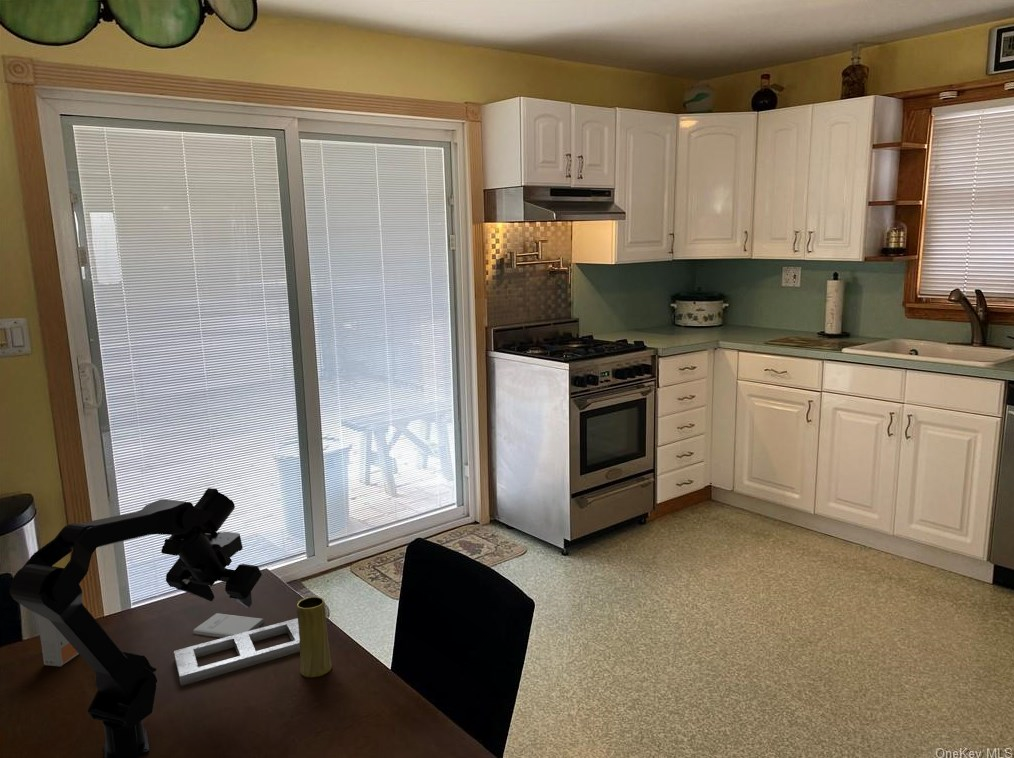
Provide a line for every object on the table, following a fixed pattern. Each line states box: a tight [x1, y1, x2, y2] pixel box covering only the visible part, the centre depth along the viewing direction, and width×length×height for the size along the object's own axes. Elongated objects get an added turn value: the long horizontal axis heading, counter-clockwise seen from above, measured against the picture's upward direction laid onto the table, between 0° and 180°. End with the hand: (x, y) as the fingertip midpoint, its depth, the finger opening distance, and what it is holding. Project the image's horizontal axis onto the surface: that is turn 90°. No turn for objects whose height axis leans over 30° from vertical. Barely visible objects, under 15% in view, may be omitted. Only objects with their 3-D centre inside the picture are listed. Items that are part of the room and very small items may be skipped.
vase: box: [296, 596, 333, 678], centre depth 145 cm, size 6×6×14 cm
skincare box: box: [36, 613, 80, 667], centre depth 152 cm, size 6×4×12 cm
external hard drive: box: [192, 612, 265, 639], centre depth 164 cm, size 2×8×12 cm
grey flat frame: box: [173, 617, 300, 687], centre depth 153 cm, size 11×26×2 cm, turn 120°
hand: (231, 602), depth 147 cm, fingers open, 9 cm apart
